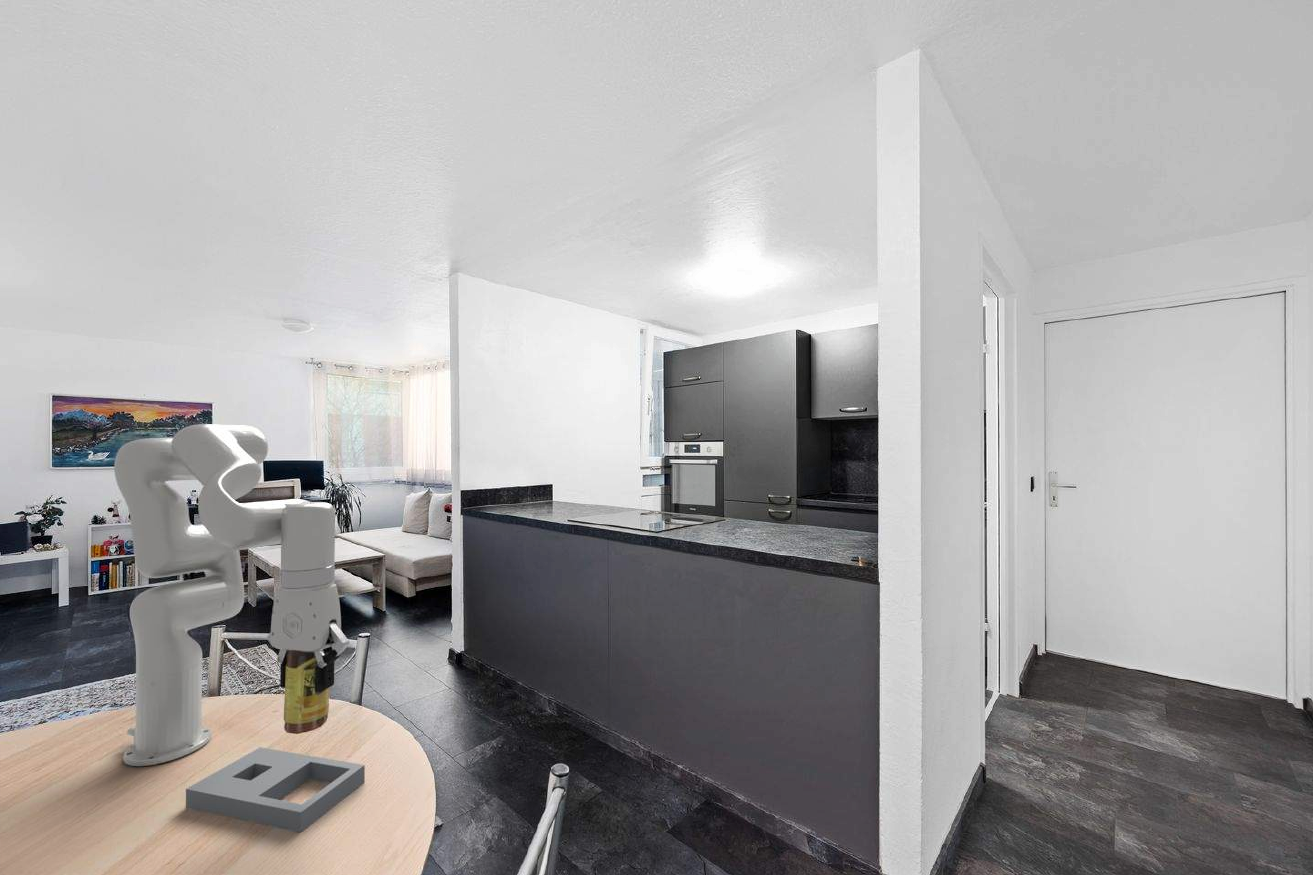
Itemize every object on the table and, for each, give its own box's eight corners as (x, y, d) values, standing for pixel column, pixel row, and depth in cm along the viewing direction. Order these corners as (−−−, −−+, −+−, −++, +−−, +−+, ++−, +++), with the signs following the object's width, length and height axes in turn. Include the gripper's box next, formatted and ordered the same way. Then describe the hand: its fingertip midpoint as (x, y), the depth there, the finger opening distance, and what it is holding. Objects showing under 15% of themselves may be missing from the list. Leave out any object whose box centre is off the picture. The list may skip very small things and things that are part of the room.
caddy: (185, 807, 87) (185, 788, 87) (259, 763, 99) (260, 747, 99) (300, 832, 81) (300, 812, 81) (364, 782, 93) (364, 764, 94)
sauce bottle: (306, 738, 85) (308, 611, 86) (273, 734, 87) (275, 609, 87) (339, 717, 92) (340, 600, 92) (307, 714, 93) (308, 598, 93)
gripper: (245, 579, 88) (244, 690, 88) (332, 586, 84) (331, 702, 83) (287, 569, 95) (286, 672, 95) (369, 575, 91) (368, 682, 91)
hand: (307, 685), depth 89 cm, fingers closed on sauce bottle, 6 cm apart
